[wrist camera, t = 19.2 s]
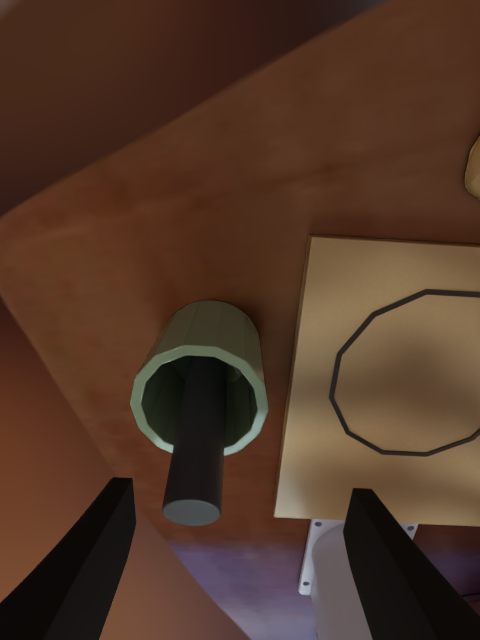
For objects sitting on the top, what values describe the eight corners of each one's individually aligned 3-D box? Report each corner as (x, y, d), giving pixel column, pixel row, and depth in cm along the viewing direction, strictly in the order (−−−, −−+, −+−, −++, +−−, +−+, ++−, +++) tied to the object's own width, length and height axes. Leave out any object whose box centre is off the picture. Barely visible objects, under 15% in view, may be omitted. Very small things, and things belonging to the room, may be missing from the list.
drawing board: (507, 516, 25) (518, 529, 24) (272, 505, 25) (273, 518, 24) (636, 254, 18) (660, 258, 17) (307, 234, 18) (312, 236, 17)
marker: (228, 366, 20) (220, 527, 13) (191, 364, 20) (163, 526, 13) (229, 338, 19) (222, 500, 12) (190, 336, 19) (159, 498, 12)
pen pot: (257, 391, 21) (263, 462, 16) (161, 386, 21) (133, 456, 16) (265, 303, 19) (275, 349, 14) (158, 296, 19) (125, 341, 14)
